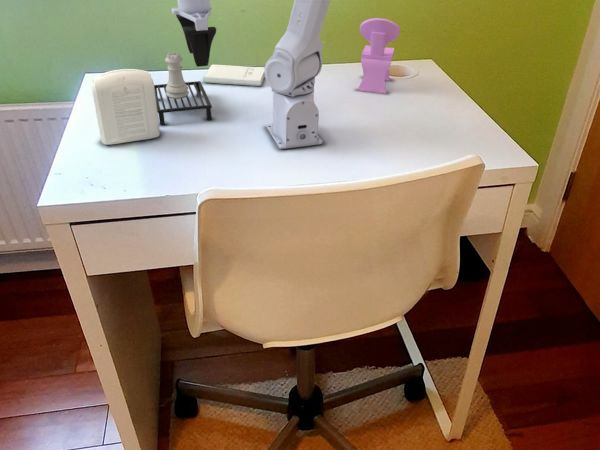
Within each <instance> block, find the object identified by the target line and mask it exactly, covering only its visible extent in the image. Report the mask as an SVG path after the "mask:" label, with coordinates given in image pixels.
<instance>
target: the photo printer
mask: <svg viewBox="0 0 600 450" xmlns="http://www.w3.org/2000/svg"><path fill="white" fill-rule="evenodd" d="M154 85H155V83H154V80H153V78H152V75H151V73H150V71H148V70H144V69H138V68H121V69H120V68H119V69H114V70H113V69H112V70H109V71H105V72H102V73H100V74H98V75H96V76H94V77H92V84H91V93H92V98H93V103H94V109H95V114H96V120H97V125H98V130H99V137H100V141H101V143H102V144H103V145H116V144H117V145H118V144H124V143H130V142H136V141H144V140H151V139H155V138H158V137H159V136H160V135H161V130H160V120H159V113H158V112H157V104H156V96H155V88H154Z"/></svg>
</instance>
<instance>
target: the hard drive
mask: <svg viewBox="0 0 600 450" xmlns="http://www.w3.org/2000/svg"><path fill="white" fill-rule="evenodd" d="M264 80H265V67H256V66H255V67H254V66H241V65H230V64H229V65H227V64H226V65H225V64H211V65H210V67H209V68H208V70H207V71H206V73H205V74H204V76H203V81H204V83H205V84H206V83H209V84H210V83H211V84H222V85H237V86H251V87H262V84H263V82H264Z"/></svg>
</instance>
